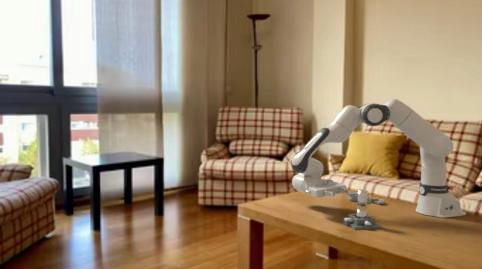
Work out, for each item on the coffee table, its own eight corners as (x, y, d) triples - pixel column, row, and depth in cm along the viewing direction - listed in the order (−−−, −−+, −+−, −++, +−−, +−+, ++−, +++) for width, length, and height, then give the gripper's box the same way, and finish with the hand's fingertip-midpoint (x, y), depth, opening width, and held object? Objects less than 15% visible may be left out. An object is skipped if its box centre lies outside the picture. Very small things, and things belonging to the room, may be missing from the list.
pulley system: (367, 209, 209) (389, 204, 215) (366, 200, 208) (389, 196, 214) (333, 199, 233) (354, 195, 240) (332, 190, 233) (353, 187, 239)
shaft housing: (366, 219, 188) (367, 211, 188) (382, 229, 175) (382, 221, 174) (338, 220, 186) (339, 212, 186) (352, 230, 172) (352, 222, 172)
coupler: (363, 220, 183) (364, 189, 182) (367, 223, 179) (369, 191, 178) (354, 220, 182) (356, 189, 181) (358, 223, 179) (360, 191, 177)
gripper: (303, 183, 195) (325, 189, 183) (333, 179, 206) (355, 184, 195) (302, 196, 195) (324, 203, 184) (332, 191, 207) (354, 197, 196)
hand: (340, 193), depth 190 cm, fingers open, 8 cm apart
